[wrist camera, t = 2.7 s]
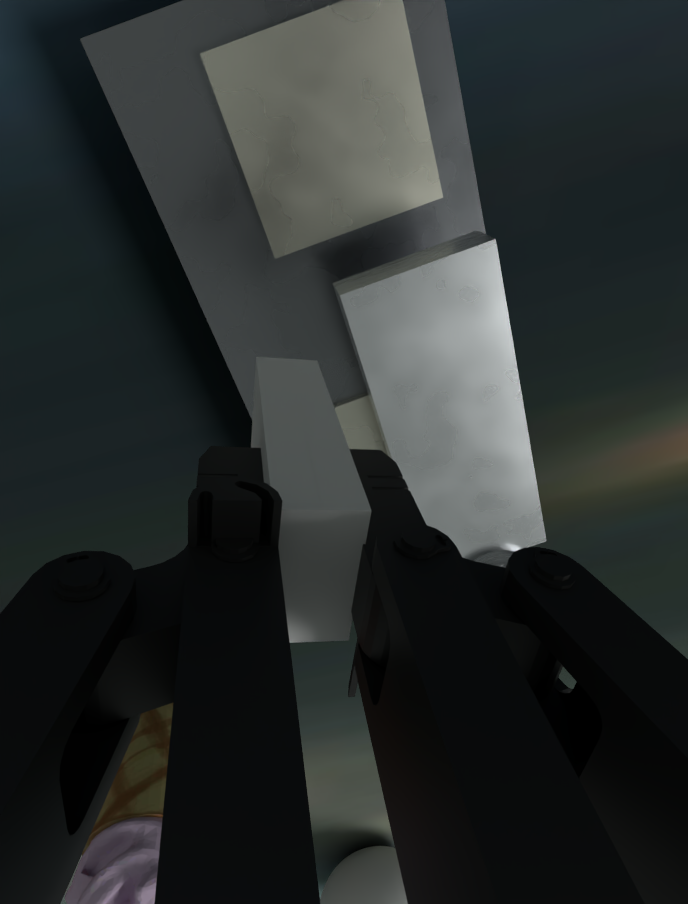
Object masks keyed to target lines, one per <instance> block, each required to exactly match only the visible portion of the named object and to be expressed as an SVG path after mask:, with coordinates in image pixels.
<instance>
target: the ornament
mask: <svg viewBox="0 0 688 904" xmlns="http://www.w3.org/2000/svg"><path fill="white" fill-rule="evenodd" d="M320 904H408V903H407V898H406V894H405V889H404V885H403V880H402V876H401V871H400V867H399V862H398V858H397V853H396V849H395V848H393V847H388V846H372V847H367V848H364V849H361V850H358V851H356V852H354V853H352V854H350V855H349V856H347V857H346V858H345V859H343V860H342V861H341V862H340V863H339V864H338V865H337V866H336V867H335V869H334V870H333V871H332V873H331V874H330V876H329V878H328V880H327V882H326V884H325V886H324V889H323V892H322V895H321V899H320Z"/></svg>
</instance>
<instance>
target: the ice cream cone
mask: <svg viewBox="0 0 688 904" xmlns="http://www.w3.org/2000/svg"><path fill="white" fill-rule="evenodd" d="M172 712H173V703H171V704H168V705H165V706H162V707H159V708H156V709H153V710H150V711H147V712H144V713H141V715H140V720H139V723H138V726H137V728H136V730H135V733H134V735H133V737H132V739H131V742H130V744H129V746H128V749H127V751H126V753H125V756H124V758H123V760H122V763H121V765H120V767H119V769H118V772H117V774H116V776H115V779H114V781H113V783H112V786H111V788H110V790H109V792H108V795H107V797H106V799H105V802H104V804H103V806H102V809H101V811H100V813H99V816H98V818H97V820H96V822H95V825H94V827H93V829H92V832H91V834H90V836H89V839H88V841H87V843H86V845H85V848H84V850H83V852H82V858H81V860H80V862H79V865H78V868H77V870H76V873H75V875H74V878H73V881H72V885H71V886H70V888H69V889H68V891H67V893H66V895H65V900H66V902H67V904H154V903H155V892H156V881H157V871H158V860H159V850H160V839H161V829H162V818H163V807H164V797H165V786H166V776H167V765H168V755H169V744H170V733H171V723H172Z"/></svg>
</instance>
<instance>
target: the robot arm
mask: <svg viewBox="0 0 688 904" xmlns="http://www.w3.org/2000/svg"><path fill="white" fill-rule="evenodd" d="M352 618H353V621H354V625H355V629H356V633H357V637H358V638H357V643H356V649H355V654H354V660H353V665H352V670H351V676H350V681H349V691H348V697H355V693H356V688H357V683H358V684H359V688H360V693H361V697H362V702H363V706H364V711H365V715H366V720H367V724H368V728H369V733H370V737H371V742H372V746H373V751H374V755H375V760H376V764H377V769H378V773H379V778H380V782H381V787H382V791H383V795H384V800H385V804H386V809H387V813H388V818H389V822H390V827H391V831H392V836H393V840H394V845H395V849H396V853H397V858H398V862H399V867H400V871H401V876H402V880H403V885H404V889H405V894H406V898H407V903H408V904H688V659H687V658H686V657H684V656H683V655H682V654H681V653H680V652H679V651H678V650H677V649H675V648H674V647H673V646H672V645H671V644H670V643H669V642H668V641H666V640H665V639H664V638H663V637H662V636H661V635H660V634H659V633H657V632H656V631H655V630H654V629H653V628H652V627H651V626H649V625H648V624H647V623H646V622H645V621H644V620H643V619H642V618H640V617H639V616H638V615H637V614H636V613H635V612H634V611H633V610H631V609H630V608H629V607H628V606H627V605H626V604H625V603H624V602H622V601H621V600H620V599H619V598H618V597H617V596H616V595H614V594H613V593H612V592H611V591H610V590H609V589H608V588H607V587H605V586H604V585H603V584H602V583H601V582H600V581H599V580H598V579H596V578H595V577H594V576H593V575H592V574H591V573H590V572H589V571H587V570H586V569H585V568H584V567H583V566H581V565H580V564H579V563H577V562H576V561H574V560H573V559H571V558H570V557H568V556H566V555H563V554H561V553H559V552H557V551H554V550H550V549H546V548H540V547H528V548H522V549H519V550H517V551H514V552H513V553H512V555H511V556H510V558H509V559H508V562H507V565H506V568H504V567H500V566H495V565H490V564H485V563H481V562H476V561H473V560H469V559H466V558H463V557H462V556H461V554H460V552H459V550H458V548H457V546H456V545H455V544H454V543H453V541H452V540H451V539H450V538H449V537H448V536H447V535H445V534H444V533H442V532H441V531H439V530H438V529H436V528H433V527H430V526H428V525H426V523H425V521H424V519H423V517H422V515H421V512H420V510H419V508H418V506H417V504H416V502H415V500H414V498H413V496H412V494H411V492H410V491H409V490H408V486H407V484H406V482H405V480H404V479H403V475H402V473H401V471H400V469H399V467H398V465H397V463H396V462H395V461H394V460H393V459H391V458H390V457H389V456H388V455H387V454H385V453H384V452H383V451H382V450H368V449H349V447H348V444H347V441H346V439H345V436H344V433H343V430H342V428H341V425H340V422H339V419H338V417H337V414H336V411H335V408H334V406H333V403H332V400H331V397H330V395H329V392H328V389H327V386H326V384H325V381H324V378H323V375H322V372H321V370H320V367H319V364H318V361H317V360H303V359H287V358H271V357H256V369H255V386H254V403H253V420H252V437H251V448H250V447H219V446H211V447H210V448H209V449H208V450H207V451H206V452H205V453H204V454H203V455H202V456H201V457H200V458H199V465H198V476H197V488H195V489H194V490H193V491H192V493H191V495H190V497H189V499H188V545H187V546H186V547H185V549H184V550H183V551H181V552H180V553H179V554H178V555H176V556H175V557H173V558H171V559H169V560H167V561H165V562H163V563H160V564H157V565H153V566H150V567H146V568H141V569H137V570H133V569H132V566H131V564H129V563H128V562H127V561H125V560H124V559H123V558H122V557H120V556H118V555H114V554H111V553H107V552H104V551H82V552H77V553H72V554H67V555H63V556H61V557H59V558H57V559H55V560H52V561H50V562H48V563H46V564H45V565H44V566H42V567H41V568H40V569H39V570H38V571H37V572H35V573H34V574H33V575H32V576H31V577H30V579H29V580H28V581H27V582H26V583H25V585H24V586H23V587H22V588H21V589H20V591H19V592H18V593H17V594H16V595H15V597H14V598H13V599H12V600H11V601H10V603H9V604H8V605H7V606H6V607H5V609H4V610H3V611H2V612H1V613H0V904H60V903H61V901H62V898H63V896H64V894H65V892H66V889H67V887H68V885H69V882H70V880H71V878H72V875H73V873H74V871H75V869H76V866H77V864H78V862H79V859H80V857H81V855H82V852H83V850H84V848H85V845H86V843H87V841H88V839H89V836H90V834H91V832H92V829H93V827H94V825H95V822H96V820H97V818H98V816H99V813H100V811H101V809H102V806H103V804H104V802H105V799H106V797H107V795H108V792H109V790H110V788H111V786H112V783H113V781H114V779H115V776H116V774H117V772H118V769H119V767H120V765H121V763H122V760H123V758H124V756H125V753H126V751H127V749H128V746H129V744H130V742H131V739H132V737H133V735H134V733H135V730H136V728H137V726H138V723H139V720H140V715H141V713H144V712H147V711H150V710H153V709H156V708H159V707H162V706H165V705H168V704H171V703H173V712H172V723H171V733H170V744H169V755H168V765H167V776H166V786H165V797H164V807H163V818H162V829H161V839H160V850H159V860H158V871H157V881H156V892H155V903H154V904H320V898H319V890H318V881H317V873H316V864H315V855H314V847H313V838H312V830H311V821H310V813H309V804H308V796H307V787H306V779H305V770H304V762H303V753H302V744H301V736H300V727H299V719H298V710H297V702H296V693H295V685H294V676H293V668H292V659H291V651H290V643H292V642H319V641H347V640H349V635H350V629H351V624H352ZM562 667H564V668H565V669H566V670H567V671H568V672H569V673H570V674H571V675H572V677H573V678H574V679H575V680H576V681H577V683H576V685H575V687H574V689H570V688H568V687H567V686H566V685H565V684H564V683H563V682H562V681H561V680H560V679H559V678H558V677H559V674H560V672H561V670H562Z"/></svg>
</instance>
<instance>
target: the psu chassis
mask: <svg viewBox="0 0 688 904" xmlns="http://www.w3.org/2000/svg"><path fill="white" fill-rule="evenodd" d="M80 40H81V43H82V45H83V47H84V49H85V51H86V54H87V56H88V58H89V60H90V63H91V65H92V67H93V69H94V71H95V74H96V76H97V78H98V80H99V82H100V85H101V87H102V89H103V91H104V94H105V96H106V98H107V100H108V102H109V105H110V107H111V109H112V111H113V113H114V116H115V118H116V120H117V122H118V125H119V127H120V129H121V131H122V133H123V136H124V138H125V140H126V142H127V144H128V147H129V149H130V151H131V153H132V155H133V158H134V160H135V162H136V164H137V167H138V169H139V171H140V173H141V175H142V178H143V180H144V182H145V184H146V186H147V189H148V191H149V193H150V195H151V198H152V200H153V202H154V204H155V206H156V209H157V211H158V213H159V215H160V217H161V220H162V222H163V224H164V226H165V229H166V231H167V233H168V235H169V237H170V240H171V242H172V244H173V246H174V248H175V251H176V253H177V255H178V257H179V259H180V262H181V264H182V266H183V268H184V271H185V273H186V275H187V277H188V279H189V282H190V284H191V286H192V288H193V290H194V293H195V295H196V297H197V299H198V302H199V304H200V306H201V308H202V310H203V313H204V315H205V317H206V319H207V321H208V324H209V326H210V328H211V330H212V333H213V335H214V337H215V339H216V341H217V344H218V346H219V348H220V350H221V352H222V355H223V357H224V359H225V361H226V364H227V366H228V368H229V370H230V372H231V375H232V377H233V379H234V381H235V383H236V386H237V388H238V390H239V392H240V394H241V397H242V399H243V401H244V403H245V406H246V408H247V410H248V412H249V414H250V417H251V419H252V420H253V403H254V386H255V369H256V357H271V358H287V359H303V360H317V361H318V364H319V367H320V370H321V372H322V375H323V378H324V381H325V384H326V386H327V389H328V392H329V395H330V397H331V400H332V403H333V406H334V408H335V411H336V414H337V417H338V419H339V422H340V425H341V428H342V430H343V433H344V436H345V439H346V441H347V444H348V447H349V449H368V450H382V451H383V452H384V453H385V454H387V451H386V448H385V444H384V441H383V438H382V435H381V432H380V429H379V426H378V423H377V420H376V417H375V413H374V410H373V407H372V404H371V401H370V398H369V395H368V392H367V389H366V386H365V383H364V379H363V376H362V373H361V370H360V367H359V364H358V361H357V358H356V355H355V352H354V348H353V345H352V342H351V339H350V336H349V333H348V330H347V327H346V324H345V321H344V317H343V314H342V311H341V308H340V305H339V302H338V299H337V296H336V293H335V290H334V286H333V282H336V281H339V280H341V279H344V278H347V277H350V276H352V275H355V274H358V273H361V272H363V271H366V270H369V269H372V268H374V267H377V266H380V265H383V264H385V263H388V262H391V261H394V260H396V259H399V258H402V257H405V256H407V255H410V254H413V253H416V252H418V251H421V250H424V249H427V248H430V247H432V246H435V245H438V244H441V243H443V242H446V241H449V240H452V239H454V238H457V237H460V236H463V235H465V234H468V233H471V232H474V231H476V230H477V231H479V232H482V233H484V234H486V233H485V227H484V222H483V216H482V210H481V204H480V199H479V193H478V187H477V182H476V176H475V170H474V165H473V159H472V153H471V148H470V142H469V136H468V131H467V125H466V119H465V113H464V108H463V102H462V96H461V91H460V85H459V79H458V74H457V68H456V62H455V57H454V51H453V45H452V40H451V34H450V28H449V23H448V17H447V11H446V5H445V0H182V1H180V2H177V3H174V4H172V5H169V6H166V7H164V8H161V9H158V10H156V11H153V12H150V13H148V14H145V15H142V16H140V17H137V18H134V19H132V20H129V21H126V22H123V23H121V24H118V25H115V26H113V27H110V28H107V29H105V30H102V31H99V32H97V33H94V34H91V35H89V36H86V37H83V38H81V39H80ZM387 455H388V454H387Z"/></svg>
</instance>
